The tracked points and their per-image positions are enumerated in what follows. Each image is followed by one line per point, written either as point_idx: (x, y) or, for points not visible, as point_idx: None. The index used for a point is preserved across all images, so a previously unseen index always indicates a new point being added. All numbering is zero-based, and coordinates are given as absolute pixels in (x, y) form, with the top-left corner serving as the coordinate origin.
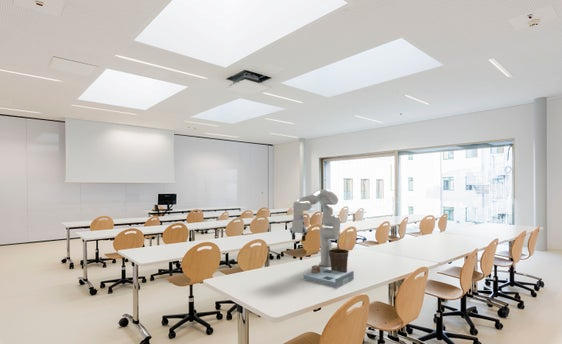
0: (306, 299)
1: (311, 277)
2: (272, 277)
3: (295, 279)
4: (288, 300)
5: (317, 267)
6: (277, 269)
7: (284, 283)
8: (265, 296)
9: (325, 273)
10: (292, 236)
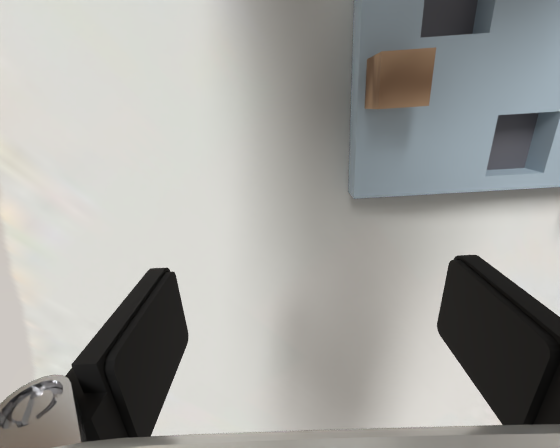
0: None
1: (414, 194)
2: (198, 271)
3: (313, 221)
4: (439, 397)
5: (428, 93)
6: (76, 140)
7: (311, 296)
8: (351, 415)
9: (465, 60)
10: (156, 407)
